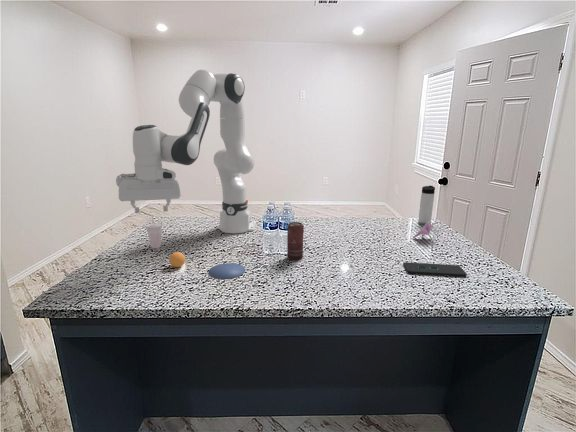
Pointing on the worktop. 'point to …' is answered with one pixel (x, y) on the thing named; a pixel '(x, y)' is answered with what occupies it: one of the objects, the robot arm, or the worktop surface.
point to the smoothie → (154, 234)
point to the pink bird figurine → (425, 230)
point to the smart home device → (434, 269)
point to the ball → (177, 259)
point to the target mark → (227, 271)
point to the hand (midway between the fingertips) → (151, 211)
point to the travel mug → (426, 204)
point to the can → (295, 241)
